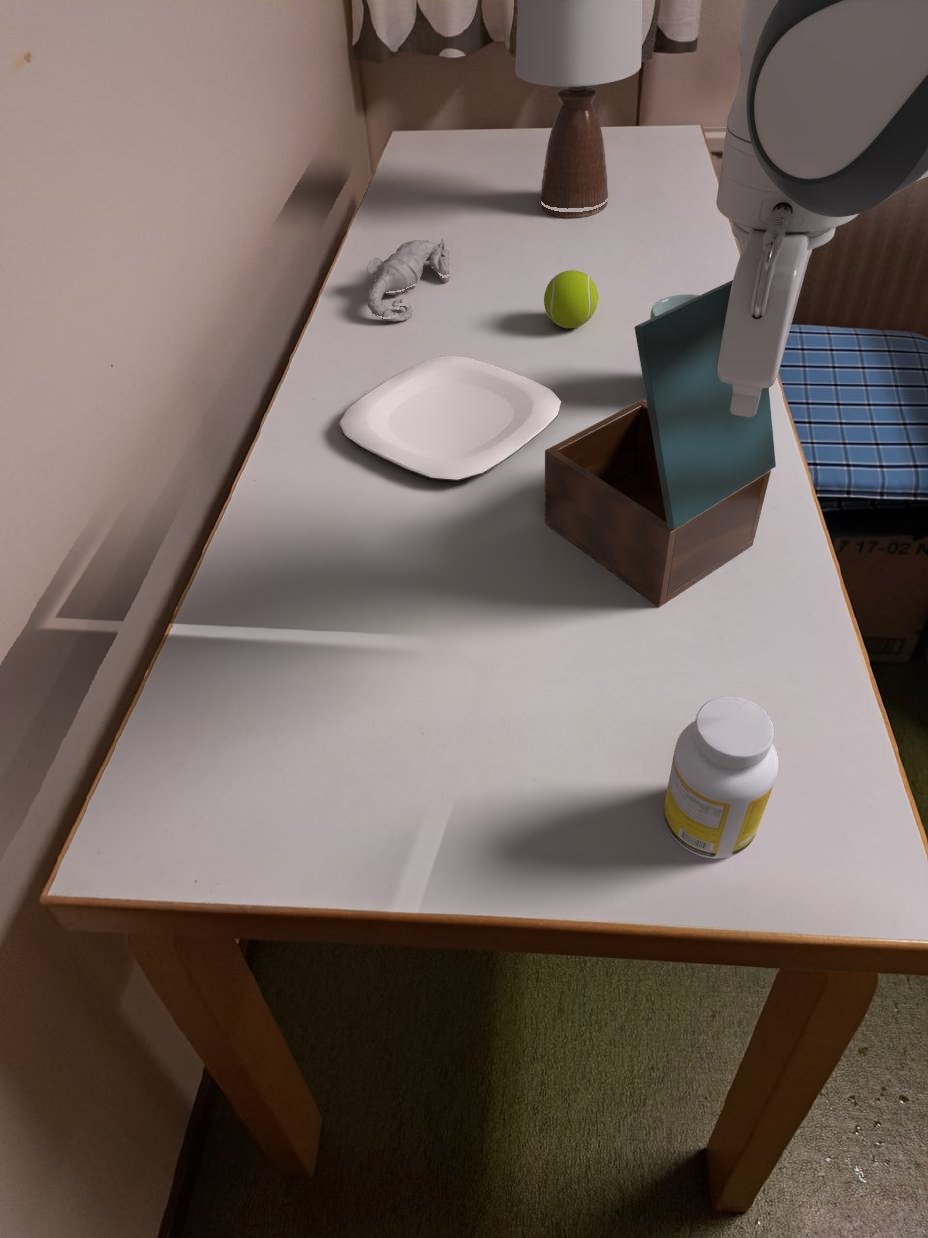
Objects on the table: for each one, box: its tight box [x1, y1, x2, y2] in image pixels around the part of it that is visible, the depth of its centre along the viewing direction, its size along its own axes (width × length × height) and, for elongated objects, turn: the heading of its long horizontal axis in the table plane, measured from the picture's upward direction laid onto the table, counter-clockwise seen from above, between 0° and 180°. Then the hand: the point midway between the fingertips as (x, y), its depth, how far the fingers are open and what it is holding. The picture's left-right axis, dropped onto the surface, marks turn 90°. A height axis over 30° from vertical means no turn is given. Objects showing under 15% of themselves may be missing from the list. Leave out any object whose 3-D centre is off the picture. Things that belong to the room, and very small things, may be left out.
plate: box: [339, 355, 562, 482], centre depth 96 cm, size 22×22×2 cm
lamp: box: [514, 0, 643, 219], centre depth 125 cm, size 19×19×37 cm
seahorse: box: [365, 238, 451, 323], centre depth 119 cm, size 5×12×20 cm
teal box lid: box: [634, 279, 777, 529], centre depth 66 cm, size 16×13×1 cm
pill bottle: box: [663, 695, 779, 860], centre depth 56 cm, size 6×6×12 cm
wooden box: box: [544, 399, 772, 608], centre depth 78 cm, size 16×13×9 cm
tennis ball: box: [543, 269, 599, 329], centre depth 109 cm, size 7×7×7 cm
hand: (754, 376), depth 62 cm, fingers open, 8 cm apart
